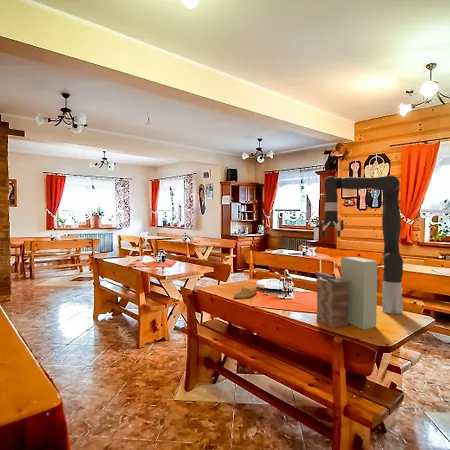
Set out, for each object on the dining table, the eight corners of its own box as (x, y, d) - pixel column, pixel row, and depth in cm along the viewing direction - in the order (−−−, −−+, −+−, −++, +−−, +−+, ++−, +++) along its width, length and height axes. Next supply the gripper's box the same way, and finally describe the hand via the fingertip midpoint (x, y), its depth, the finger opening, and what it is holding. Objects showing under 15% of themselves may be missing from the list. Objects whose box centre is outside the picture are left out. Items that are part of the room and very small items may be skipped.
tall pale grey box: (340, 319, 171) (341, 257, 170) (352, 317, 174) (353, 256, 173) (363, 329, 156) (364, 262, 155) (376, 327, 159) (377, 261, 158)
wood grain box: (316, 320, 169) (317, 278, 168) (331, 318, 172) (331, 277, 172) (332, 328, 158) (333, 283, 157) (347, 325, 161) (348, 282, 160)
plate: (258, 277, 256) (293, 278, 251) (258, 285, 256) (293, 287, 250) (254, 280, 229) (293, 282, 223) (254, 290, 228) (293, 292, 223)
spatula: (312, 275, 176) (312, 272, 176) (322, 275, 177) (322, 271, 177) (337, 284, 155) (337, 280, 154) (348, 283, 156) (348, 279, 156)
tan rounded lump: (236, 305, 209) (240, 295, 206) (227, 295, 215) (231, 285, 212) (259, 298, 223) (263, 289, 220) (250, 289, 229) (253, 279, 226)
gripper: (341, 210, 202) (341, 236, 202) (317, 210, 203) (317, 236, 203) (345, 210, 194) (344, 237, 195) (320, 210, 195) (320, 237, 196)
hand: (330, 237), depth 199 cm, fingers open, 8 cm apart
